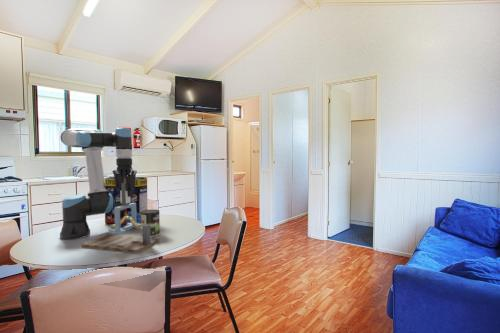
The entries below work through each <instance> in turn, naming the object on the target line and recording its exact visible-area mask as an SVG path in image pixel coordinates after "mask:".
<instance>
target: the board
mask: <svg viewBox="0 0 500 333" xmlns="http://www.w3.org/2000/svg"><path fill="white" fill-rule="evenodd" d="M150 241H151V243H150V244H148V245H143V236H131V235H130V236H129V235H123V234H112V233H107V234H105V235H102V236H100V237H96V238H94V239H91V240H88V241H86V242H84V243H81V248H87V249H95V250H96V249H97V250H105V251H115V252H122V253H123V252H126V253H131V254H132V253H133V254H139V253H140V252H143V251H144V250H146V249H149V247H152V246H153V245H155V244H157V243H159V242H160V239H159V238H155V237H150Z"/></svg>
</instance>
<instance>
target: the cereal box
mask: <svg viewBox="0 0 500 333" xmlns="http://www.w3.org/2000/svg"><path fill="white" fill-rule="evenodd" d="M104 182H105V189H106V190H108V192H109V194H112V197H113V207H112V210H111V211H110V212H108V213H104V223H105V224H106V225H107V224H109V225H111V224H113V225H115V214H114V208H115V207H119V206H122V203H121V200H120V196H119V190H118V189H116V187H115V179H114V176H109V177H106V178H105V177H104ZM124 182H126V181H125V178H124ZM130 200H131V202H130V203H136V211H137V213H140V214H141V212H142V211H144V210H148V178H147V177H144V176H142V177H141V176H140V177H139V176H136V177H135V189H132V190H131V196H130ZM130 203H129V204H130ZM130 211H131V207H130V208H126V209H123V210H120V221H121V220H122V218H123V217H124V216H127V215H129V212H130ZM140 217H141V215H140ZM126 221H127V219H126V220H125V221H124V222H123V223H122V224H121V225H126ZM140 224H142V221H141V222H140Z"/></svg>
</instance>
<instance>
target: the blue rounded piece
mask: <svg viewBox="0 0 500 333" xmlns="http://www.w3.org/2000/svg"><path fill="white" fill-rule="evenodd" d="M140 215H141V214H140V213H137V211H136V219H137V223H138V224H140V222H141V217H140ZM127 216H130V217H131V211H130V212H129V215H127ZM128 223H131V221H130V220H128V219H127V221H126V224H128ZM126 224H125V225H126ZM132 229H133V230H135V229H137V228H136V227H134V228H132Z"/></svg>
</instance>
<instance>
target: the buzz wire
mask: <svg viewBox="0 0 500 333" xmlns="http://www.w3.org/2000/svg"><path fill="white" fill-rule="evenodd" d="M126 219H128V220H130V221H131V223H132V224H133V225H134V226H135V227H136V228H135V229H136V230H138V231H141V235H142V234H143V236H142V237H143V245H148V244H150V243H151V241H150V238H151V237H150V224H145V225H142V227H139V226H138V224H137V223H136V222H135V221H134V220H133V218H132V217H130V216H124V217H123V218H122V220H121V221H120V226H121V225H123V224H122V223H123V222H124V221H125V220H126ZM109 227H110V228H111V229H115V224H109Z"/></svg>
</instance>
